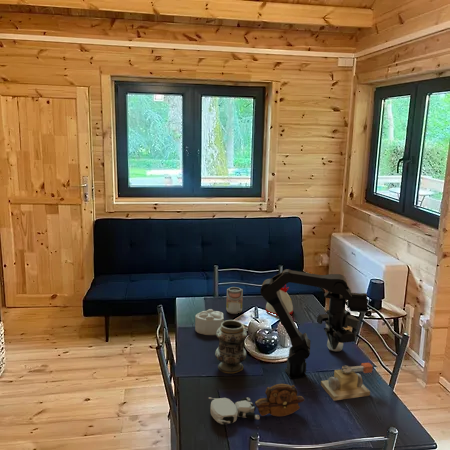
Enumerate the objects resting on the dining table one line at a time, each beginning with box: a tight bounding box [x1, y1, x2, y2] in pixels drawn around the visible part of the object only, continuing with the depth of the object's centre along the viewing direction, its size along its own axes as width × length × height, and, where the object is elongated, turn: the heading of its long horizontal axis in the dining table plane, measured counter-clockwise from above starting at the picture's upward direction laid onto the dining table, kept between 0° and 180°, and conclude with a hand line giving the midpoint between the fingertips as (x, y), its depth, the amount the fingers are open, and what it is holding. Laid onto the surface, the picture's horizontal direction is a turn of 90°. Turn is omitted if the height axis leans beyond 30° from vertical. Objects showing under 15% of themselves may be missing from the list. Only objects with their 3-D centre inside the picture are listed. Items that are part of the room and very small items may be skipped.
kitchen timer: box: [265, 284, 294, 315], centre depth 225 cm, size 14×14×15 cm
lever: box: [341, 362, 374, 374], centre depth 157 cm, size 11×3×2 cm, turn 103°
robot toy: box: [208, 397, 261, 425], centre depth 142 cm, size 12×4×15 cm
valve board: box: [320, 368, 371, 401], centre depth 157 cm, size 14×10×7 cm
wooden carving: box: [254, 383, 305, 417], centre depth 142 cm, size 16×5×10 cm, turn 106°
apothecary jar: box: [214, 319, 248, 375], centre depth 170 cm, size 12×12×18 cm
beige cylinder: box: [225, 286, 244, 315], centre depth 224 cm, size 9×8×12 cm
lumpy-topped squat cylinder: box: [194, 308, 225, 336], centre depth 203 cm, size 10×13×9 cm
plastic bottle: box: [326, 338, 344, 353], centre depth 185 cm, size 6×7×20 cm
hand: (333, 349), depth 163 cm, fingers closed
